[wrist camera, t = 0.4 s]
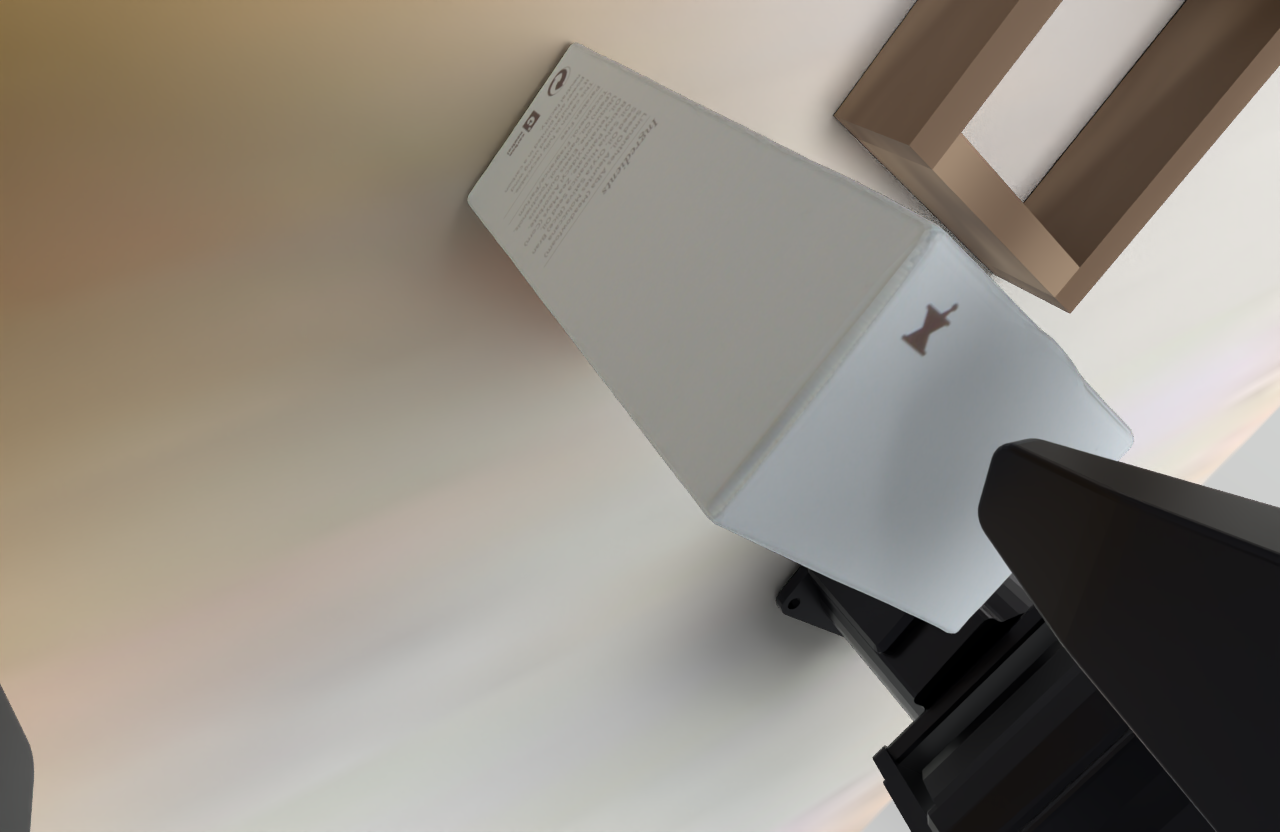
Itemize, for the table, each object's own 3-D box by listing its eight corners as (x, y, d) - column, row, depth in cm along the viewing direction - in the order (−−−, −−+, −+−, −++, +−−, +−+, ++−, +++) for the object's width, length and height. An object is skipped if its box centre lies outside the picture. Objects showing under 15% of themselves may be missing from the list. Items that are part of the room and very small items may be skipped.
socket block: (1241, -31, 24) (1351, -20, 22) (994, 274, 27) (1070, 313, 24) (1126, -287, 19) (1252, -308, 17) (833, 115, 22) (909, 145, 19)
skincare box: (457, 201, 19) (694, 523, 10) (569, 34, 18) (949, 208, 9) (649, 327, 23) (956, 648, 13) (750, 192, 22) (1155, 433, 12)
